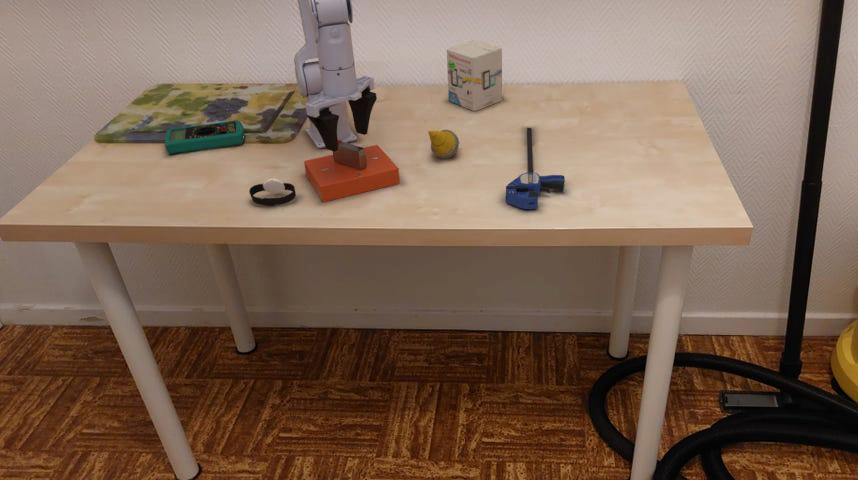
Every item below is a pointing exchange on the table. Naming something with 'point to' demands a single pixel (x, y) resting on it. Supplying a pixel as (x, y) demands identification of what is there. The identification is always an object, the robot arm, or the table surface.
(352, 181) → the orange block
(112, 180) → the table surface
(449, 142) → the yellow pointed rounded piece
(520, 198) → the bar clamp
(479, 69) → the ink box
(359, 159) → the grey block with button
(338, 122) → the robot arm
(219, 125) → the digital multimeter
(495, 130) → the table surface
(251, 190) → the watch
